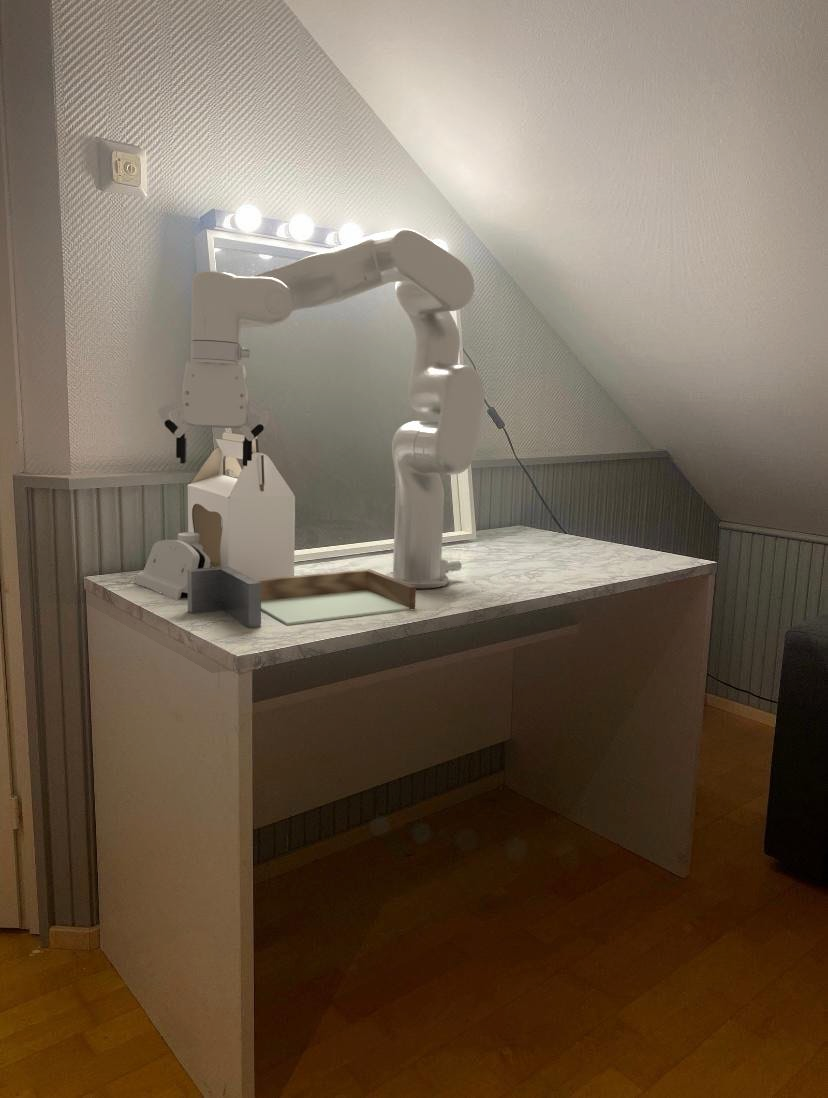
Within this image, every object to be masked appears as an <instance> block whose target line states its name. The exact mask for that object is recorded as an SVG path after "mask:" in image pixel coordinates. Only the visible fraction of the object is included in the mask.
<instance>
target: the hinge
mask: <svg viewBox="0 0 828 1098" xmlns="http://www.w3.org/2000/svg"><path fill="white" fill-rule="evenodd" d="M209 566H210V558H209V557H208V556H207V555H206V554H205V553H204V552H203V551H202V550H201V549H199V548H197V547H196V546H194V545H192V544H189V543H186V542H183V541H178V539H162V540H159V541H155V543H154V544H153V545H152V547H151V549H150V552H149V555H148V558H147V561H146V564H145V566H144V568H143V570H142V571H140V572H138V573H137V574H136V576H135V580H134V584H135V583H137V584H136V585H138V584H139V585H138V586H140V585H142V586H141V587H143V586H145V587H147V588H146V589H148V588H150V589H153V590H156V591H158V592H161V593H163V594H165V595H164V596H166V595H167V596H166V597H169V596H170V597H169V598H171V597H172V599H174V600H176V601H177V599H178V600H180V598H181V597H182V593H185V594H188V574H187V569H200V568H209ZM145 587H144V588H145ZM150 589H149V590H150ZM153 590H152V591H153ZM156 591H155V592H156ZM158 592H157V593H158ZM161 593H160V594H161ZM163 594H162V595H163Z"/></svg>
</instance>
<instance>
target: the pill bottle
mask: <svg viewBox="0 0 828 1098" xmlns="http://www.w3.org/2000/svg"><path fill="white" fill-rule="evenodd" d="M177 540H178V541H183V542H186V543H189V544H192V545H194V546H196V547H197V548H199V549H201V550H202V551H203V547H202V546H201V545H200V544H198V542H199V533H192V532H188V531H187V532H179V533H178V534H177Z"/></svg>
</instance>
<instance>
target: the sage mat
mask: <svg viewBox="0 0 828 1098" xmlns="http://www.w3.org/2000/svg"><path fill="white" fill-rule="evenodd" d="M404 610H405V611H410V610H409V607H406V606H404V605H402V604H399V603H397V602H394V601H392V600H390V599H387V598H385V597H382V596H380V595H378V594H375V593H373V592H370V591H368V590H361V591H352V592H343V593H333V594H324V595H314V596H305V597H295V598H286V599H276V600H267V601H261V612H263V613H265V614H267V615H269V616H270V617H273V618H274V619H275V620H277V621H280V622H281V623H283V624H284V625H285V626H290V625H292V626H293V625H299V624H308V623H317V622H324V621H331V620H341V619H348V618H358V617H363V616H373V615H381V614H386V613H387V614H388V613H396V612H404Z"/></svg>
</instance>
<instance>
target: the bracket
mask: <svg viewBox="0 0 828 1098" xmlns="http://www.w3.org/2000/svg"><path fill="white" fill-rule="evenodd" d="M187 574H188V593H187V612H189V613H190V614H202V613H211V612H220V611H222V612H223V613H225V614H226V615H228V616H229V617H231V618H232V619H233V620H236V621H237V622H238V623H240V624H241V625H243V626H245V628H248V629H254V628H261V627H262V610H261V583H260V582H258V581H256V580H255V579H253V578H251V577H249V576H247V575H245V574H243V573H241V572H239V571H237V570H235V569H233V568H231V567H229V566H225V567H212V568H200V569H187Z"/></svg>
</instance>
